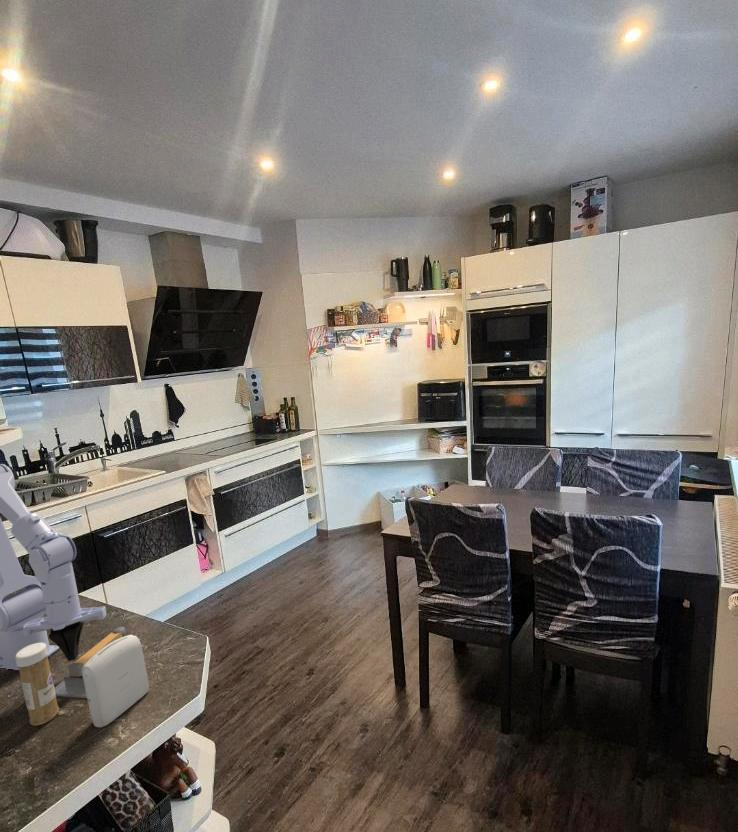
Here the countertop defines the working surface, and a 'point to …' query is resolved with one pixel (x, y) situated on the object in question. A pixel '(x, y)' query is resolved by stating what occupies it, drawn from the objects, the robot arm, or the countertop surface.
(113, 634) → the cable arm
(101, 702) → the photo printer
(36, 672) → the sprinkles bottle
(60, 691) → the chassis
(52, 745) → the countertop surface
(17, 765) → the countertop surface
